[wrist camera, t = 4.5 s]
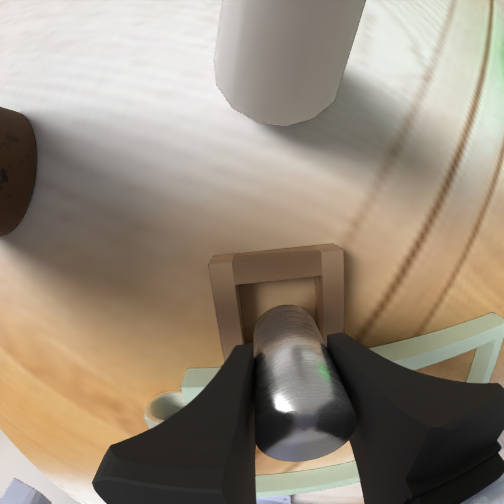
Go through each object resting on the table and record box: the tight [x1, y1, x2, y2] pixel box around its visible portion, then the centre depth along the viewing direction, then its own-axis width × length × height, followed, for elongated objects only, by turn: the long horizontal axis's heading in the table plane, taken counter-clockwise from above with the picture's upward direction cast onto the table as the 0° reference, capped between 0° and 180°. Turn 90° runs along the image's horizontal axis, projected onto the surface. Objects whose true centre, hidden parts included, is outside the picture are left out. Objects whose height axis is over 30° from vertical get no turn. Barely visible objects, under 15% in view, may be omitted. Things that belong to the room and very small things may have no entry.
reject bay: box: [181, 312, 504, 498], centre depth 17 cm, size 14×24×2 cm, turn 96°
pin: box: [254, 305, 357, 462], centre depth 9 cm, size 3×3×6 cm
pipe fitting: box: [144, 390, 189, 429], centre depth 16 cm, size 8×4×7 cm
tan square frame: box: [208, 244, 344, 361], centre depth 15 cm, size 6×6×2 cm
